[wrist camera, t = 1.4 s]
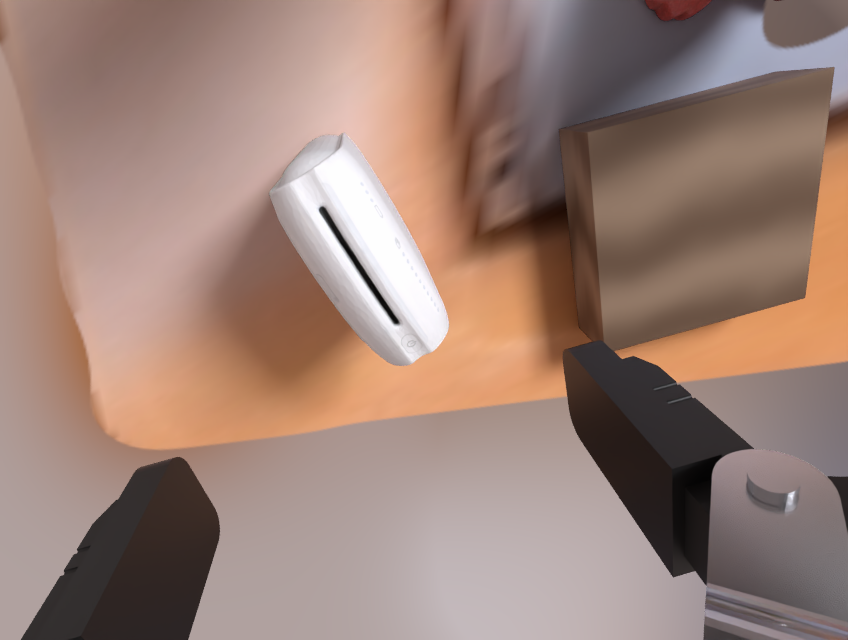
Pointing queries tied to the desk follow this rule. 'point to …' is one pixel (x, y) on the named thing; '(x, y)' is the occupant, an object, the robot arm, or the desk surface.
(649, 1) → the stacking bear
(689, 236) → the walnut block
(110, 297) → the desk surface
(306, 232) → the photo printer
